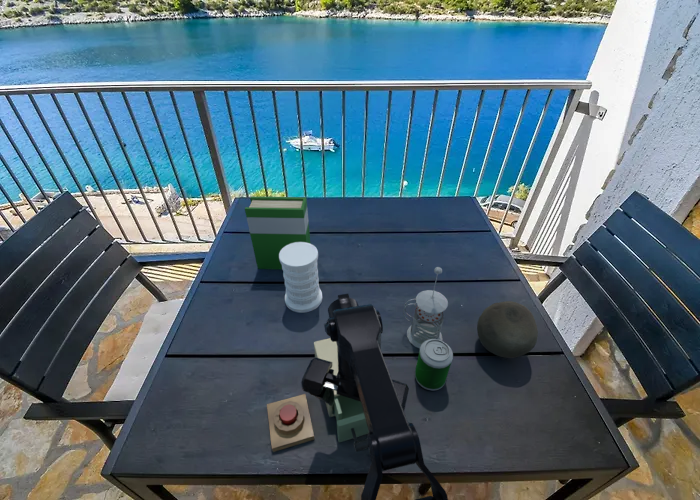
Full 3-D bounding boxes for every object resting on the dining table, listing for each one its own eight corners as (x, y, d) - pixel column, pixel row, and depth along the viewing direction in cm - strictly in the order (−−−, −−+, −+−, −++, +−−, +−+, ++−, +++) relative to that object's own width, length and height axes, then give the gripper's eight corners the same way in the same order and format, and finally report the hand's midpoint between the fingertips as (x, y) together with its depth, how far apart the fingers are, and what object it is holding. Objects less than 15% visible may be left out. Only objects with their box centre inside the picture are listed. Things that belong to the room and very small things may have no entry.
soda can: (447, 393, 84) (457, 364, 76) (416, 392, 84) (423, 363, 76) (441, 365, 90) (450, 336, 82) (412, 365, 90) (418, 336, 82)
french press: (440, 354, 92) (458, 286, 77) (397, 342, 95) (406, 275, 80) (444, 326, 100) (461, 259, 84) (404, 316, 102) (414, 250, 87)
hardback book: (257, 268, 119) (244, 208, 104) (262, 255, 125) (250, 196, 110) (309, 269, 119) (303, 209, 104) (311, 256, 124) (306, 197, 110)
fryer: (381, 402, 82) (383, 381, 76) (329, 417, 79) (327, 396, 73) (362, 351, 93) (362, 330, 87) (315, 363, 90) (313, 341, 84)
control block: (314, 439, 75) (313, 432, 73) (272, 452, 73) (270, 445, 71) (305, 397, 83) (304, 389, 81) (267, 407, 81) (265, 400, 79)
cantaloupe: (463, 353, 92) (476, 316, 83) (480, 319, 102) (494, 282, 92) (519, 381, 86) (539, 344, 77) (531, 342, 95) (551, 304, 86)
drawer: (396, 447, 73) (399, 431, 69) (344, 464, 71) (344, 449, 66) (368, 374, 87) (370, 356, 82) (324, 386, 84) (322, 369, 80)
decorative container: (316, 315, 103) (312, 270, 92) (279, 309, 105) (270, 263, 94) (326, 288, 112) (324, 244, 100) (292, 283, 114) (286, 238, 102)
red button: (298, 422, 75) (297, 418, 74) (281, 426, 74) (280, 423, 73) (295, 406, 78) (294, 402, 77) (279, 411, 77) (278, 407, 76)
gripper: (418, 340, 62) (409, 388, 72) (321, 315, 67) (325, 363, 76) (406, 396, 54) (398, 442, 63) (296, 363, 58) (304, 410, 68)
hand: (354, 410), depth 68 cm, fingers open, 9 cm apart
